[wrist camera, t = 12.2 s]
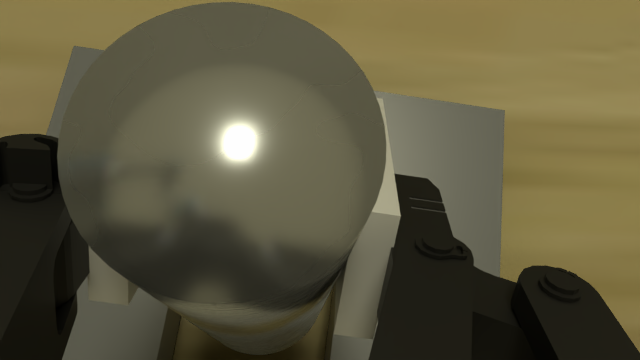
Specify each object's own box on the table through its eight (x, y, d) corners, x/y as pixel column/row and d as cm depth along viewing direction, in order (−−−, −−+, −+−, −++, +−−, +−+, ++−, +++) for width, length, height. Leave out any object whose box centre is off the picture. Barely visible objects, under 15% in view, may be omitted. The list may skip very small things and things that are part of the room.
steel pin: (184, 345, 18) (14, 278, 7) (209, 219, 19) (104, -18, 8) (314, 363, 18) (369, 327, 7) (330, 236, 19) (399, 25, 8)
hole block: (-33, 523, 21) (-82, 545, 18) (95, 81, 27) (73, 45, 24) (461, 588, 21) (489, 620, 19) (481, 138, 27) (504, 110, 25)
